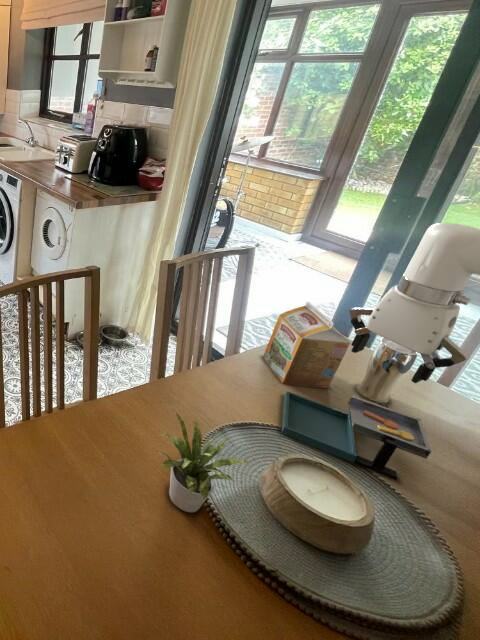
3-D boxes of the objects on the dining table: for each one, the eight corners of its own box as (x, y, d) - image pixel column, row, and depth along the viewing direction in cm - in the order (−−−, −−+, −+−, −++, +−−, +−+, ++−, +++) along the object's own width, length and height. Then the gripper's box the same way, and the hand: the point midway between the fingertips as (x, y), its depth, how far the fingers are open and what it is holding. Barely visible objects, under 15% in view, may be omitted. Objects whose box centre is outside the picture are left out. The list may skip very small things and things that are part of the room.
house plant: (121, 473, 81) (137, 412, 74) (175, 452, 86) (194, 393, 79) (178, 544, 69) (203, 479, 62) (237, 516, 74) (266, 453, 67)
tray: (348, 420, 95) (351, 414, 94) (353, 462, 84) (357, 456, 83) (284, 396, 101) (286, 390, 100) (281, 433, 91) (284, 427, 90)
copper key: (398, 425, 85) (399, 424, 85) (396, 430, 84) (397, 429, 84) (364, 409, 89) (365, 408, 89) (362, 414, 88) (363, 413, 87)
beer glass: (347, 387, 104) (372, 339, 98) (365, 382, 106) (391, 334, 100) (379, 407, 98) (408, 357, 92) (398, 401, 100) (427, 352, 94)
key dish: (416, 426, 86) (420, 419, 85) (426, 459, 78) (431, 451, 78) (348, 402, 92) (351, 395, 91) (351, 430, 84) (355, 423, 83)
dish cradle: (386, 434, 91) (401, 409, 88) (396, 480, 81) (414, 453, 78) (350, 421, 94) (364, 396, 91) (356, 463, 84) (372, 437, 81)
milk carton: (327, 388, 104) (358, 325, 96) (282, 383, 106) (309, 321, 98) (303, 361, 114) (330, 302, 106) (262, 357, 115) (285, 299, 107)
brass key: (410, 434, 83) (411, 432, 83) (415, 442, 81) (416, 440, 81) (376, 424, 85) (377, 423, 85) (380, 431, 83) (380, 430, 83)
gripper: (506, 310, 69) (454, 388, 76) (380, 267, 83) (346, 336, 90) (486, 319, 66) (433, 399, 73) (359, 273, 80) (325, 344, 88)
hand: (385, 364), depth 82 cm, fingers open, 9 cm apart
